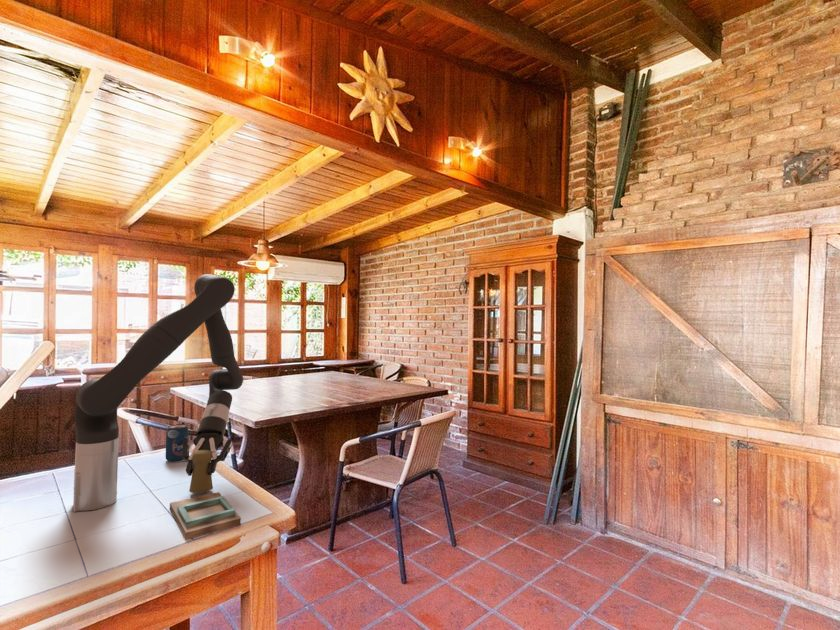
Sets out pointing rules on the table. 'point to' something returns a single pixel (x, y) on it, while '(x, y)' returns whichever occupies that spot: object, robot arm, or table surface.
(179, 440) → the soda can
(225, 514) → the holder plate
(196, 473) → the cork
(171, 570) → the table surface
